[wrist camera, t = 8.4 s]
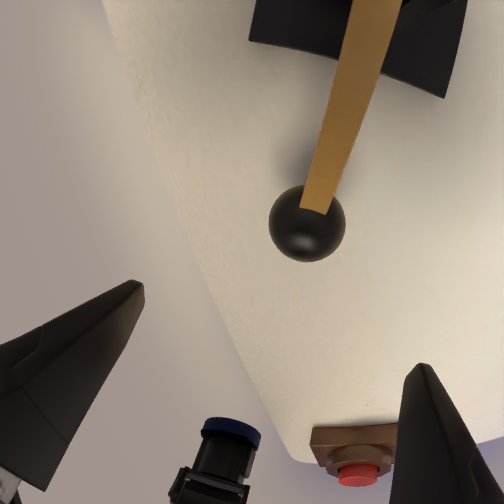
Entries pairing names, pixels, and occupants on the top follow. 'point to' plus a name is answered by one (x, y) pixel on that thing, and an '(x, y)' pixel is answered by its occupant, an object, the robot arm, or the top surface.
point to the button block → (355, 447)
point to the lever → (335, 138)
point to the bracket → (401, 43)
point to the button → (358, 475)
